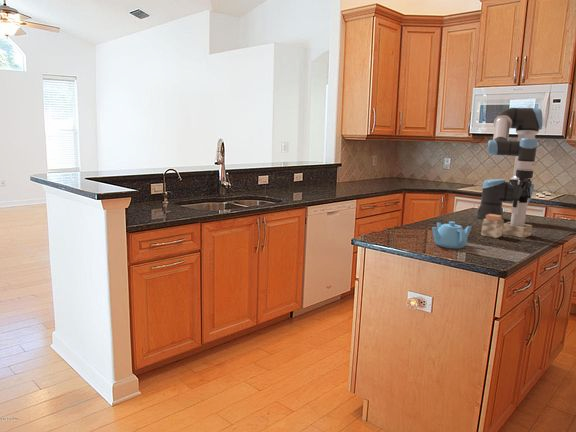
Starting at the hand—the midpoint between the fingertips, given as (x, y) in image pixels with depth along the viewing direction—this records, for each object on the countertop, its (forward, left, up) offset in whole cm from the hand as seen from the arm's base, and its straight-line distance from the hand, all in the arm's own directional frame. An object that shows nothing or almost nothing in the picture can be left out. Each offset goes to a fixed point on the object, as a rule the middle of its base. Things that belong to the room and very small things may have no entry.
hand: (519, 212), depth 232 cm
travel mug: (0, 0, -12) cm, 12 cm away
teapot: (-12, -50, -12) cm, 52 cm away
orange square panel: (-7, -14, -4) cm, 16 cm away
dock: (-3, -6, -11) cm, 13 cm away
